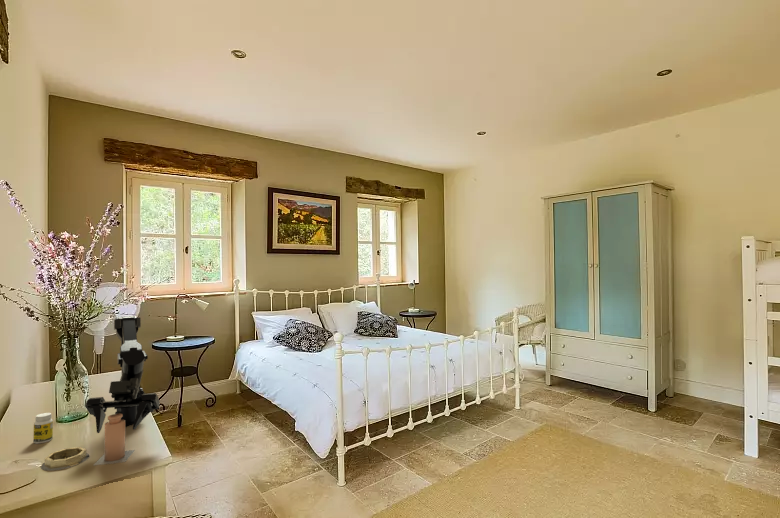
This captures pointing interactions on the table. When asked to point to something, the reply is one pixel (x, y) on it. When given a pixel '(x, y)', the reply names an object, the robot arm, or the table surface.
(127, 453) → the tile
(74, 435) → the table surface
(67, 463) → the holder
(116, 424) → the vase
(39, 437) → the supplement bottle
